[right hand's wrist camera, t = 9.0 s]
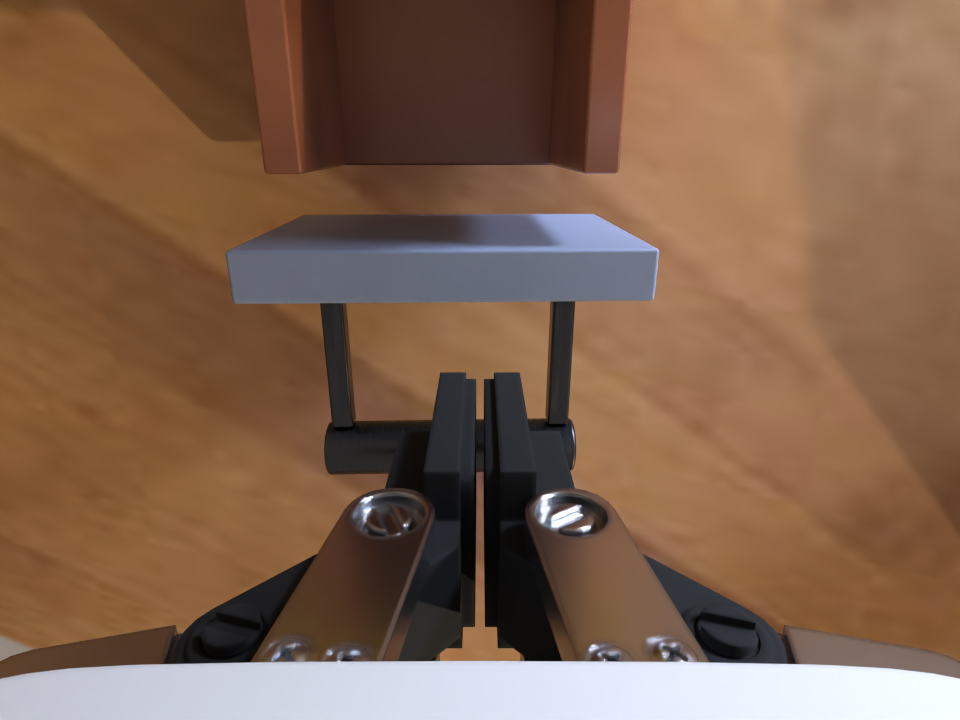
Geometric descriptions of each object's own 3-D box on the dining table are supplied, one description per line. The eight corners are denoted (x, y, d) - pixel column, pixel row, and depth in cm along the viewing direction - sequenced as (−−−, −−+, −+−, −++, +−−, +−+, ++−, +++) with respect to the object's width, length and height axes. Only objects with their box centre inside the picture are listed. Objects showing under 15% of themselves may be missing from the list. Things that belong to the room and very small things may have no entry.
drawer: (581, 411, 22) (630, 522, 15) (323, 415, 21) (266, 528, 15) (648, -567, 13) (821, -1221, 7) (218, -583, 13) (-15, -1279, 6)
